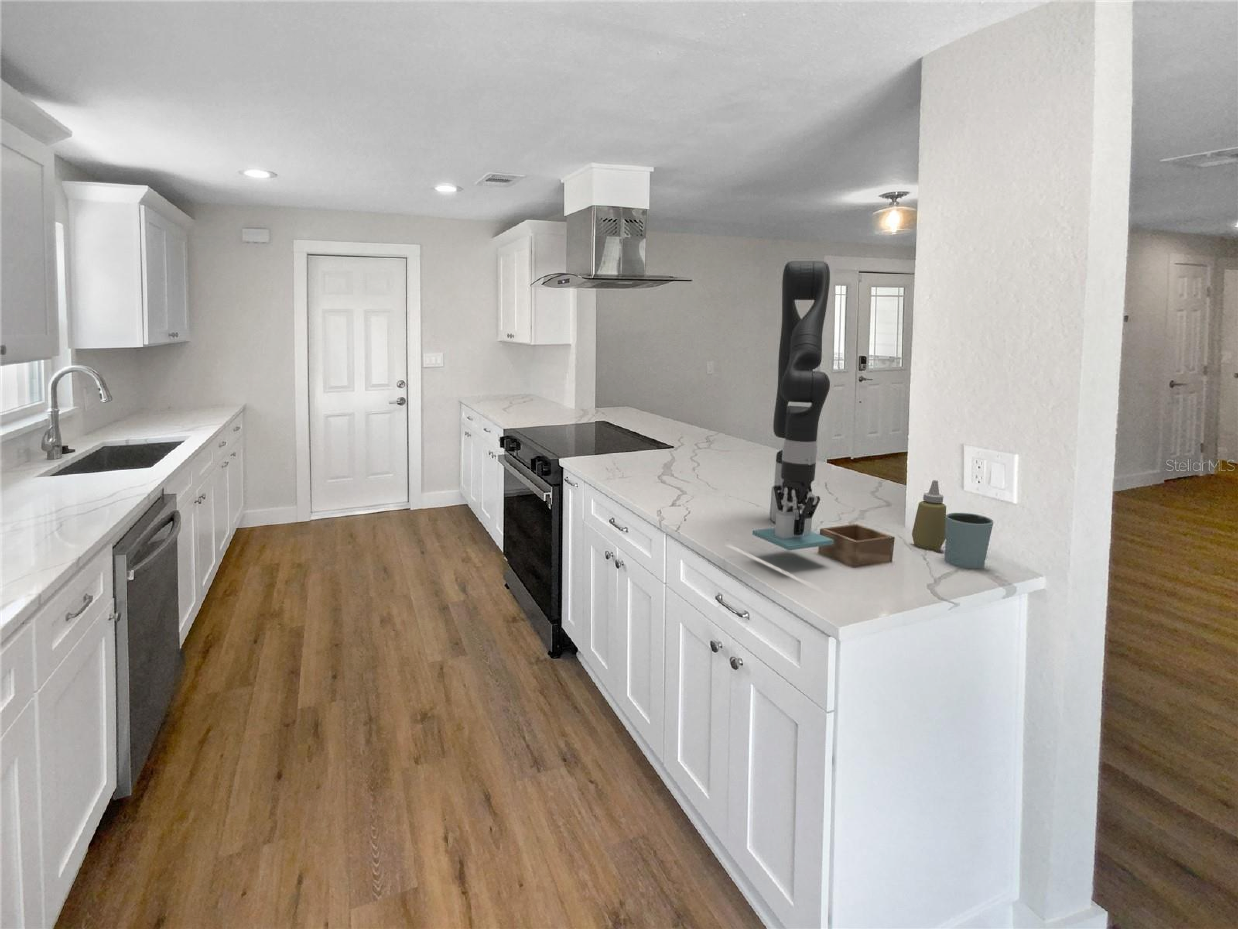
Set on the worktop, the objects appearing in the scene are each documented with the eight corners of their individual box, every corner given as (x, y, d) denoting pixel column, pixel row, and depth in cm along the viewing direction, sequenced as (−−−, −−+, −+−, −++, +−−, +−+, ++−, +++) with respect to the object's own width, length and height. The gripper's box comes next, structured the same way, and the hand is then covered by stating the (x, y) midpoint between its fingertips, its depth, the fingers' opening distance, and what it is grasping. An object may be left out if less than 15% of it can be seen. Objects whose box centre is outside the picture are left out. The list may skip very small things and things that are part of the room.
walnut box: (817, 556, 175) (820, 528, 174) (854, 550, 180) (857, 523, 179) (853, 571, 164) (856, 542, 163) (891, 565, 170) (894, 537, 168)
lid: (752, 537, 169) (754, 509, 168) (795, 532, 175) (797, 504, 174) (788, 553, 158) (790, 523, 156) (833, 547, 164) (835, 517, 162)
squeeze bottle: (941, 546, 186) (950, 479, 183) (946, 555, 179) (955, 485, 175) (908, 543, 188) (916, 476, 185) (912, 552, 181) (920, 482, 177)
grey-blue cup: (992, 567, 171) (999, 518, 169) (979, 577, 164) (986, 526, 162) (948, 557, 178) (953, 510, 176) (933, 566, 170) (939, 517, 168)
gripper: (766, 454, 167) (761, 526, 170) (807, 466, 155) (800, 542, 158) (791, 453, 170) (785, 523, 174) (833, 464, 158) (826, 539, 161)
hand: (793, 532), depth 166 cm, fingers closed on lid, 3 cm apart
